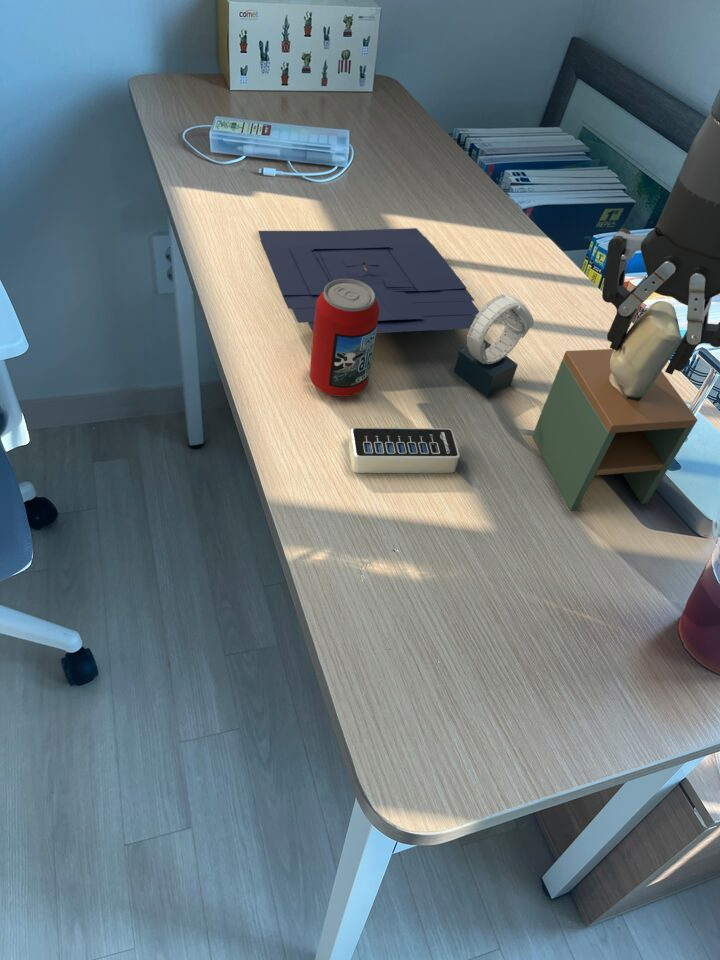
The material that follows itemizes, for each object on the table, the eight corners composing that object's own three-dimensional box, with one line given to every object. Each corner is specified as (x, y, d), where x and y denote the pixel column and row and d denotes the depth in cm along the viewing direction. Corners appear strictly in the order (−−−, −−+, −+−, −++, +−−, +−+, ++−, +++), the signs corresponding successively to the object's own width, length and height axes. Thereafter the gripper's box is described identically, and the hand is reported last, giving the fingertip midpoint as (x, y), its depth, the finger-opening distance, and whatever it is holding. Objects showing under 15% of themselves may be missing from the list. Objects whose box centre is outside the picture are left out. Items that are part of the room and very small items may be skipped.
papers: (297, 358, 87) (298, 330, 84) (256, 249, 108) (256, 224, 106) (491, 347, 93) (498, 320, 90) (416, 245, 114) (419, 222, 112)
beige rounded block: (670, 397, 73) (707, 329, 67) (629, 409, 71) (664, 340, 65) (631, 362, 76) (663, 293, 70) (591, 372, 74) (621, 303, 68)
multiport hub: (348, 442, 80) (350, 426, 79) (447, 443, 82) (452, 427, 81) (352, 473, 77) (355, 457, 76) (455, 473, 79) (460, 457, 78)
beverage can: (346, 410, 84) (359, 320, 75) (297, 384, 86) (304, 294, 77) (378, 380, 88) (393, 291, 79) (330, 356, 90) (340, 267, 81)
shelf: (647, 503, 80) (698, 419, 71) (570, 510, 78) (612, 425, 69) (603, 431, 87) (644, 347, 78) (531, 436, 85) (565, 350, 76)
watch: (521, 379, 92) (549, 302, 84) (476, 402, 87) (500, 324, 79) (488, 354, 94) (512, 277, 86) (442, 376, 90) (463, 297, 82)
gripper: (627, 166, 58) (558, 345, 71) (815, 234, 54) (707, 411, 67) (654, 138, 63) (585, 310, 75) (829, 198, 59) (726, 369, 71)
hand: (643, 356), depth 71 cm, fingers closed on beige rounded block, 4 cm apart
